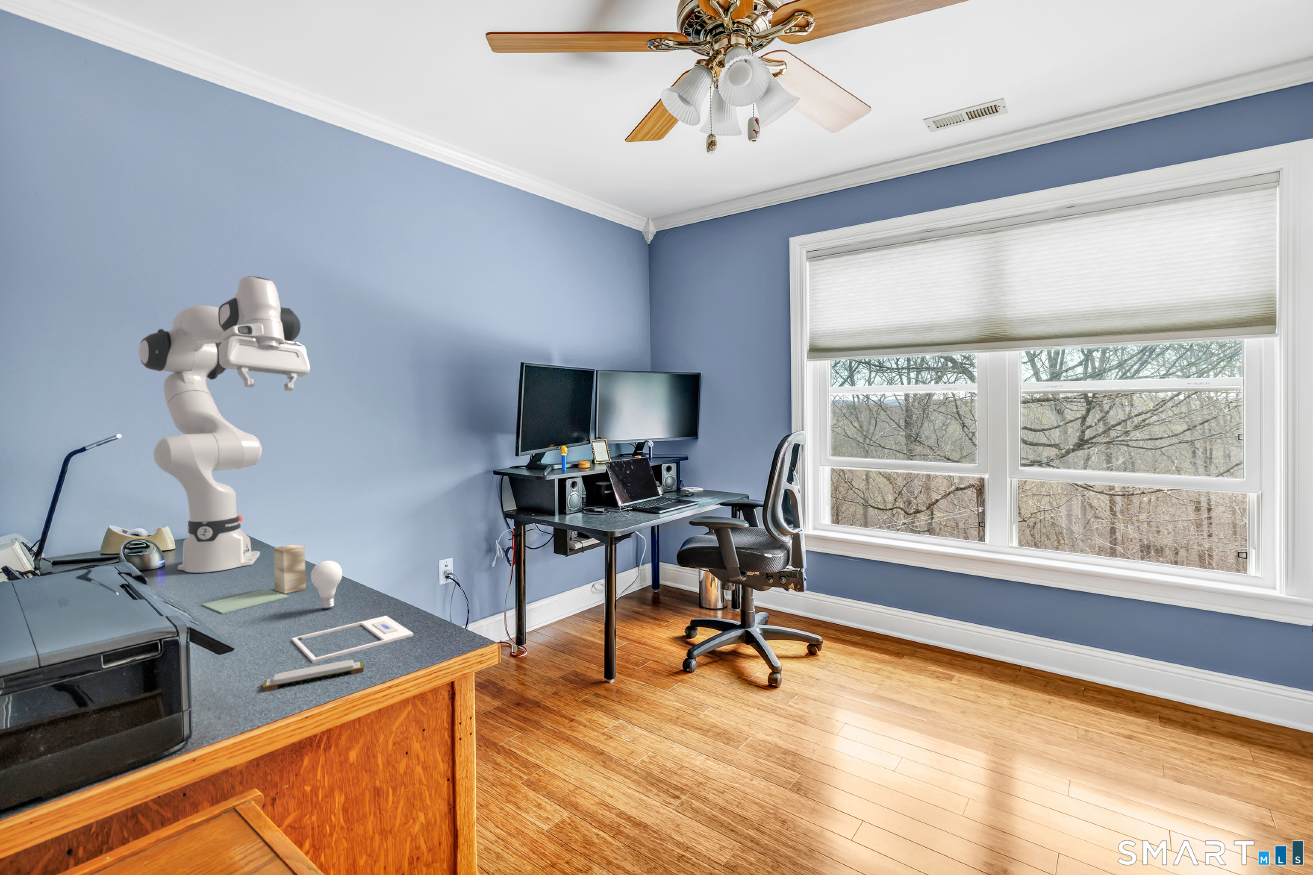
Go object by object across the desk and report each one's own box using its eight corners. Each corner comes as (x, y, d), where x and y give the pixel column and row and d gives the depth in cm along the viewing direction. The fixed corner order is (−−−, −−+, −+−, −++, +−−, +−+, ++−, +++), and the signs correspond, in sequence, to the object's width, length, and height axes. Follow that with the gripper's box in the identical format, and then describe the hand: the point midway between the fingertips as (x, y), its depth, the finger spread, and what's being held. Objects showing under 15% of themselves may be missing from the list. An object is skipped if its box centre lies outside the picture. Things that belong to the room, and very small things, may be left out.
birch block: (296, 586, 154) (294, 544, 154) (306, 589, 152) (304, 546, 151) (275, 591, 150) (273, 548, 150) (284, 594, 147) (283, 550, 147)
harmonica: (362, 667, 106) (362, 656, 106) (363, 674, 103) (363, 663, 103) (264, 686, 99) (264, 674, 99) (262, 694, 96) (262, 682, 96)
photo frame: (413, 632, 120) (312, 658, 107) (413, 637, 120) (313, 664, 107) (386, 614, 130) (291, 637, 118) (386, 619, 130) (292, 642, 118)
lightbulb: (319, 615, 132) (317, 565, 132) (306, 609, 136) (305, 561, 136) (348, 607, 137) (347, 560, 137) (335, 602, 141) (334, 556, 141)
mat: (267, 589, 151) (267, 588, 151) (289, 597, 145) (289, 595, 145) (201, 605, 140) (201, 604, 140) (222, 613, 134) (222, 612, 134)
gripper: (298, 347, 163) (304, 395, 161) (212, 334, 146) (218, 388, 144) (311, 339, 160) (318, 388, 158) (225, 325, 143) (231, 380, 141)
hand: (270, 388), depth 151 cm, fingers open, 8 cm apart
